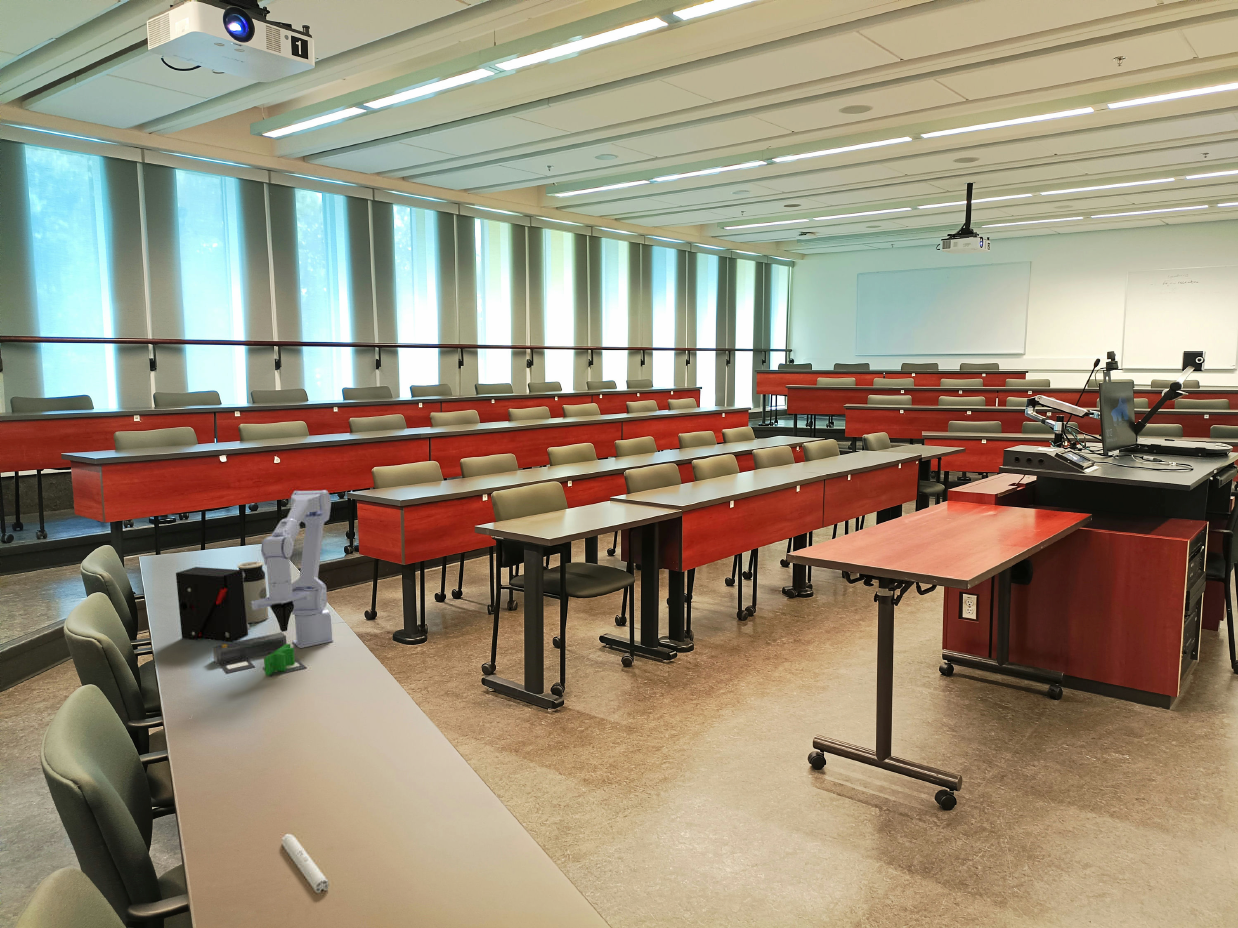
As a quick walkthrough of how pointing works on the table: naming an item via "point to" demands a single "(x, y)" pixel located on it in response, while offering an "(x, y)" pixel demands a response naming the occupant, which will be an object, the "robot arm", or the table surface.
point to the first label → (237, 666)
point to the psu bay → (248, 648)
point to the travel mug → (254, 590)
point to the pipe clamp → (279, 659)
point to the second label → (290, 668)
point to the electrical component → (212, 604)
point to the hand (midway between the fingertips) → (283, 630)
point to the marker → (305, 863)
